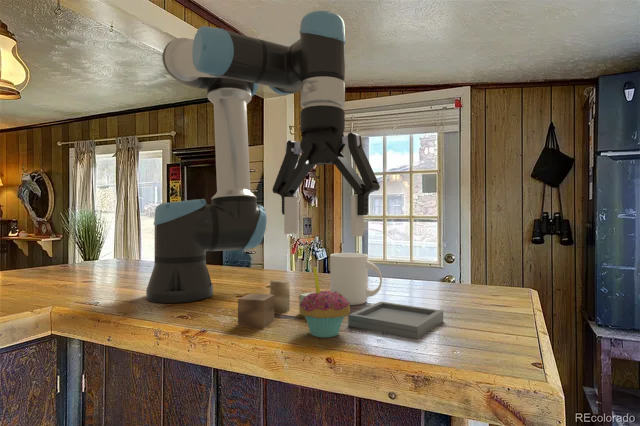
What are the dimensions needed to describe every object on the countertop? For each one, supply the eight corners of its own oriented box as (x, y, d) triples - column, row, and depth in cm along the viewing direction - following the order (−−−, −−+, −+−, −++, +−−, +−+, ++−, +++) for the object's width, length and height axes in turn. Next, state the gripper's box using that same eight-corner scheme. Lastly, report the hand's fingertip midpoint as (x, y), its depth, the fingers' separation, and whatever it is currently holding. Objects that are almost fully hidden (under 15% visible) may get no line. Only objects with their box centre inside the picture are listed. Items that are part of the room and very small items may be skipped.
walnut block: (237, 326, 71) (237, 298, 71) (249, 319, 76) (249, 293, 76) (263, 328, 70) (263, 300, 70) (274, 321, 75) (274, 294, 75)
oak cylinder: (266, 310, 83) (266, 281, 82) (278, 307, 86) (279, 279, 86) (280, 313, 80) (281, 283, 80) (293, 309, 83) (293, 281, 83)
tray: (348, 325, 72) (348, 314, 72) (380, 311, 82) (380, 301, 82) (417, 339, 64) (417, 326, 64) (443, 321, 75) (443, 310, 75)
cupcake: (310, 344, 62) (310, 266, 62) (292, 329, 70) (292, 260, 70) (359, 337, 65) (359, 264, 65) (336, 323, 73) (336, 258, 73)
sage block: (299, 314, 80) (299, 294, 80) (318, 310, 84) (318, 291, 84) (314, 319, 77) (315, 298, 77) (334, 315, 80) (334, 295, 80)
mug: (376, 308, 85) (377, 258, 85) (324, 303, 89) (324, 255, 89) (386, 300, 93) (386, 254, 93) (337, 296, 97) (337, 252, 97)
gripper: (253, 114, 71) (253, 233, 71) (379, 91, 57) (379, 239, 57) (280, 122, 77) (280, 231, 78) (400, 102, 63) (400, 236, 63)
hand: (322, 235), depth 67 cm, fingers open, 13 cm apart
